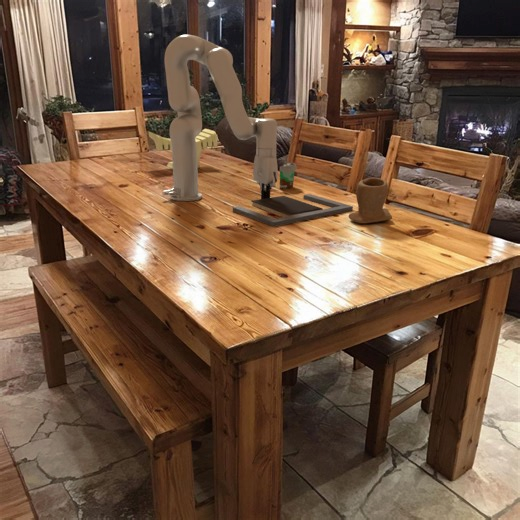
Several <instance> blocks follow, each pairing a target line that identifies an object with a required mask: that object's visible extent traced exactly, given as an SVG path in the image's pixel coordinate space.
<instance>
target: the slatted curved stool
mask: <svg viewBox="0 0 520 520" xmlns="http://www.w3.org/2000/svg"><path fill="white" fill-rule="evenodd" d="M148 138H150V139H151V140H153V143H154V144H155V149H156V151H158V152H160V151H164V150H170V151H172V146H171V139H170V138H169V137H168V138H167V137H163V136H161V135H158V134H156V133H155V132H151V131H148ZM195 141H196V147H197V169H201V165H200V161H201V155H202V151H203V150H205V149H206V148H212V147H214V148H218V135H217V133H216V131H215V130H212V129H209V128H204V129H202V130H201V132H200V134H199V135H198V136H196V137H195ZM166 167H168V168H169V169H172V170H173V161H168V163H167V165H166Z"/></svg>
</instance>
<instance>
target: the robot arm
mask: <svg viewBox="0 0 520 520" xmlns="http://www.w3.org/2000/svg"><path fill="white" fill-rule="evenodd" d="M191 60H192V61H194V62H198V63H199V64H201V65H203V66H206V68H207V69H208V71H209V74H210V76H211V78H212V81H213V83H214V86H215V88H216V90H217V92H218V95H219V98H220V101H221V105H222V108H223V111H224V115H225V117H226V120H227V122H228V125H229V127H230V129H231V131H232V133H233V135H234V136H235V138H237V139H238V140H241V141H247V140H249V139H251V138H253V137H256V141H255V142H256V149H255V151H256V153H255V156H254V160H253V170H252V175H253V176H252V179H253V181H254V182H256V183H257V184H258V185H259V190H260V199H265V198H271V190H272V188H275V187H277V186H276V183H277V182H278V176H279V175H278V173H279V171H278V167H279V166H278V161H277V160H278V159H277V138H278V137H277V135H278V132H277V130H278V122H277V119H275V118H268V117H267V118H266V117H264V118H257V117H252V116H248V113H247V112H246V108H245V106H244V102H243V88H242V86H241V83H240V80H239V79H238V76H237V73H236V72H235V69H234V66H233V64H234V59H233V55H232V53H231V52H230V51H229V50H228V49H226V48H225V47H222V46H220V45H217V44H215V43H213V42H211V41H208V40H206V39H204V38H202V37H200V36H197V35H192V34H182V35H179V36H177V37H175V38H174V39H173V40H172V41H171V42H169V44H168V46H167V47H166V49H165V52H164V68H165V77H166V87H167V97H168V104H169V106H170V108H171V109H172V110H174V111H175V112H177V113H176V114H177V116H176V117H175V118H174V119H173V120H172V121H171V123H170V125H169V137H170V138H169V139H171V146H172V150H171V158H172V160H171V161H172V162H173V169H172V178H173V180H172V181H173V186H170V188H169V189H165V190H162V191H161V192H162V196H169V198H170V199H171V200H173V201H179V202H193V201H198V200H201V199H202V198H203V194H202V192H199V181H198V180H199V179H198V178H199V176H198V173H199V172H198V168H197V147H196V141H195V137H196V136H198V135H199V134H200V132H202V130H203V118H202V109H201V101H200V96H199V93H198V91H197V89H196V88H195V87H193V86H192V85H191V80H190V72H189V67H188V61H191Z"/></svg>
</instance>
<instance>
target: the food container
mask: <svg viewBox="0 0 520 520" xmlns="http://www.w3.org/2000/svg"><path fill="white" fill-rule="evenodd" d="M296 170H297V165H296V163H295V162H291V161H284V162H283V164H282V165H280V166H279V190H289V189H290V190H291V189H293V188H294V180H295V171H296Z"/></svg>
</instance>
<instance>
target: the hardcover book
mask: <svg viewBox="0 0 520 520" xmlns="http://www.w3.org/2000/svg"><path fill="white" fill-rule="evenodd" d="M250 202H251V203H252V205H251V206H253V207H256V208H258V209H261V210H264V211H265V212H269V213H271V214H275V215H277V216H279V217H281V218H283V217H288V216H293V215H298V214H303V213H308V212H313V211H318V210H323V207H320V206H317V205H313V204H312V203H311V204H310V203H307V202H304V201H302V200H299V199H295V198H294V197H293V198H292V197H289V196H286V195H280V196H279V195H278V196H273V197H270V198H265V199H261V198H259V199H254V200H251V201H250Z"/></svg>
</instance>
